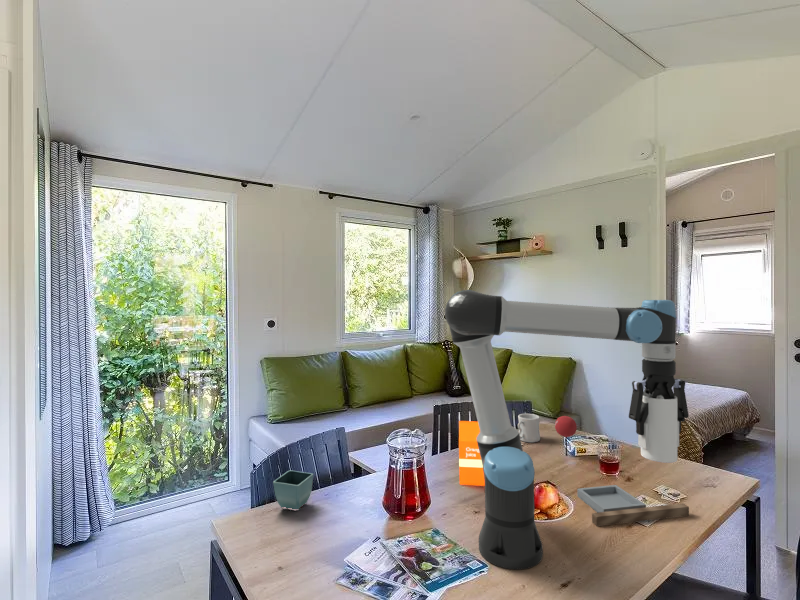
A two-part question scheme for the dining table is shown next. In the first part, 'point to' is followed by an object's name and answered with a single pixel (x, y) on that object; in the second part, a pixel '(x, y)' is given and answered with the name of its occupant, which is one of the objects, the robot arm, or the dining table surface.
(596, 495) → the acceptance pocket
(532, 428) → the mug
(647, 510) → the door edge rail
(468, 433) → the orange juice
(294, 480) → the flower pot
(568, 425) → the lollipop
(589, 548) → the dining table surface
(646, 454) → the cup
